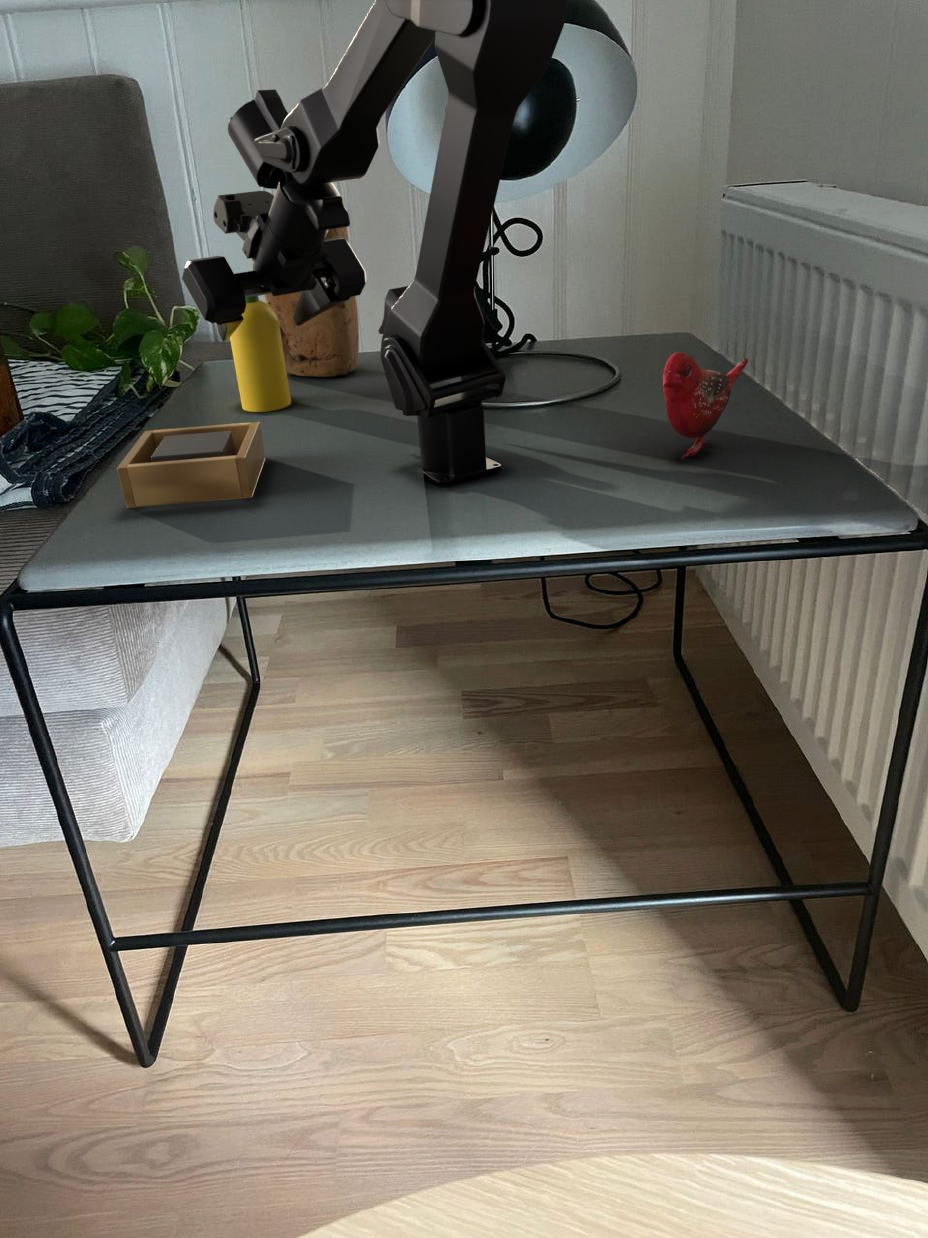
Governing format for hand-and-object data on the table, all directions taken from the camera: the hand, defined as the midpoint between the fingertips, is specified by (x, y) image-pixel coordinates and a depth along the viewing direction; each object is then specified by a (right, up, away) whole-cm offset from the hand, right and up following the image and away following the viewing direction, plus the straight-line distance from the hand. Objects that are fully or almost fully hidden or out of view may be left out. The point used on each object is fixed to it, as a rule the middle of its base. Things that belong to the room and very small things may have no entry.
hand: (260, 329), depth 104 cm
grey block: (-1, -20, -19) cm, 28 cm away
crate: (-1, -20, -19) cm, 28 cm away
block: (+4, 0, +18) cm, 18 cm away
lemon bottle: (0, -7, +5) cm, 9 cm away
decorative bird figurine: (+45, -16, -17) cm, 51 cm away
